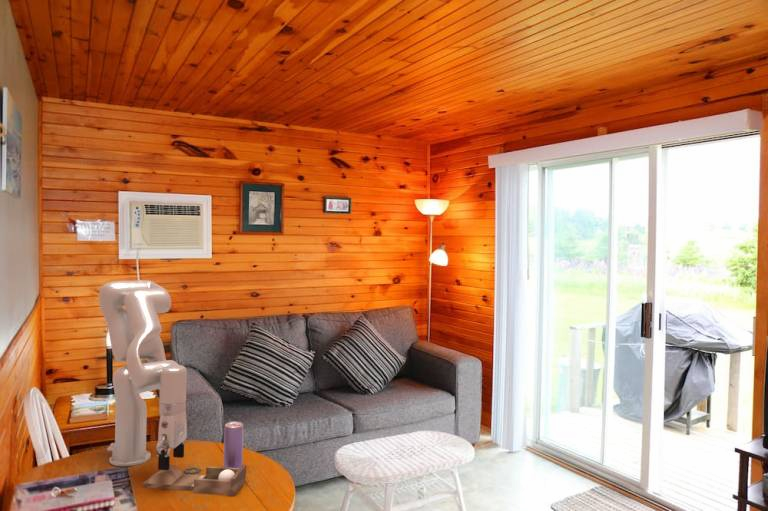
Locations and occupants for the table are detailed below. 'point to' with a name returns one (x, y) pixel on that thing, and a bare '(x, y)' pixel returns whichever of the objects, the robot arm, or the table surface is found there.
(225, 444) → the beverage can
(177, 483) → the lane
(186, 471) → the grey piece
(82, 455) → the table surface
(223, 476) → the ball
